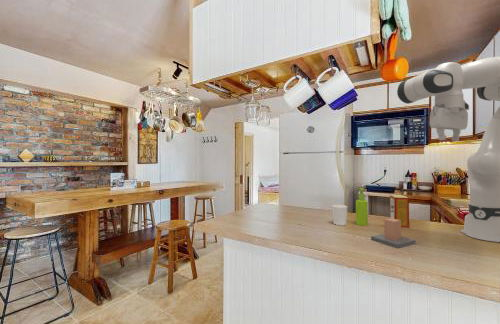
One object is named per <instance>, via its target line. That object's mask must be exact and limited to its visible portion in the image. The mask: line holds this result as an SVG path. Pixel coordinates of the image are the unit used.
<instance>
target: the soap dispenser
mask: <svg viewBox="0 0 500 324" xmlns="http://www.w3.org/2000/svg"><path fill="white" fill-rule="evenodd" d="M356 190H359V193H358V194H357V199H356V200H355V224H356V225H357V226H362V227H363V226H365V227H366V226H367V227H368V225H369V221H368V220H369V219H368V218H369V217H368V202H369V201H368V200H366V194H364V191H365V187H364V188H363V187H356Z"/></svg>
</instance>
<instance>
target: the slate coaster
mask: <svg viewBox="0 0 500 324" xmlns="http://www.w3.org/2000/svg"><path fill="white" fill-rule="evenodd" d="M370 239H371V241H374V242H377V243H380V244H383V245H385V246H390V247H393V248H396V249H400V248H403V247H408V246H411V245H415V244H416V239H413V238H411V237H406V236H402V235H401V239H399V240H395V241H394V240H391V239H388V238H385V234H384V233H381V234H375V235H371V238H370Z"/></svg>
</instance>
